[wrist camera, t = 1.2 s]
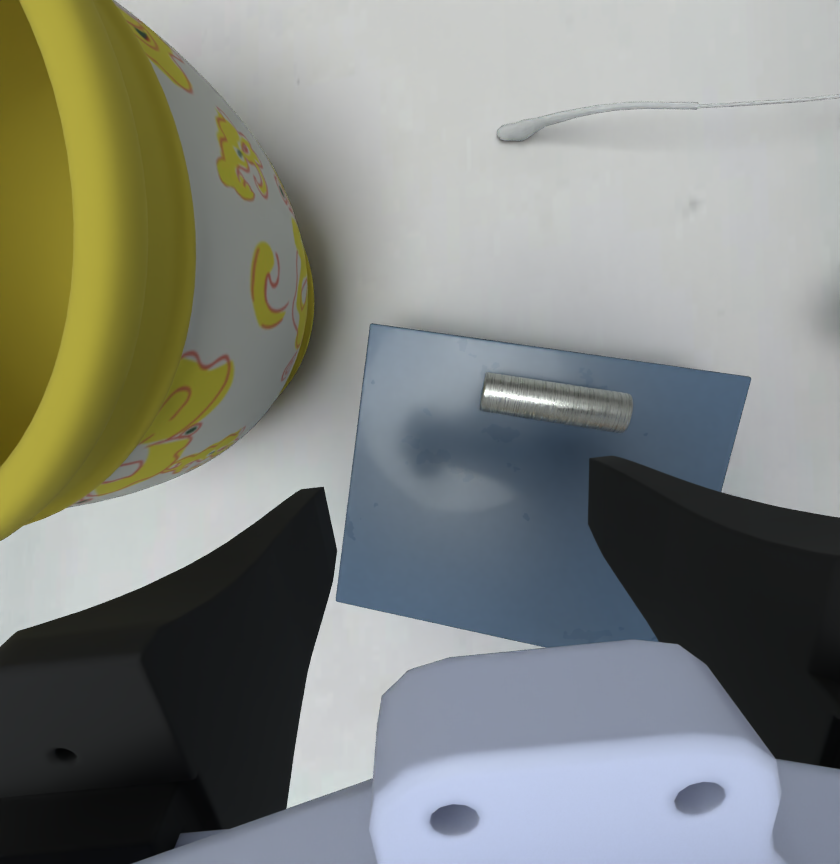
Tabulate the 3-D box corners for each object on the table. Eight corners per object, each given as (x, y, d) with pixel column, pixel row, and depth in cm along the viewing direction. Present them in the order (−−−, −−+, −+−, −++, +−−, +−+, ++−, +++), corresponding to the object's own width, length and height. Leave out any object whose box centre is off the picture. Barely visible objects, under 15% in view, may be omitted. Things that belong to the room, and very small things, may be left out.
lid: (373, 324, 20) (343, 312, 16) (742, 376, 18) (821, 379, 14) (339, 594, 22) (305, 648, 18) (666, 665, 20) (714, 744, 16)
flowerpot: (117, 480, 28) (-367, 629, 12) (28, 187, 26) (-689, -95, 10) (387, 424, 25) (217, 526, 9) (311, 88, 23) (-77, -533, 7)
